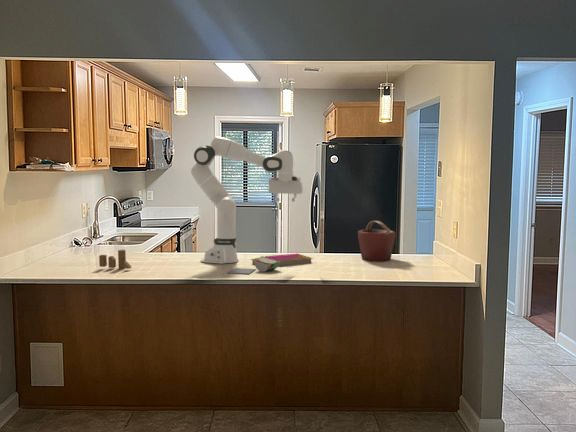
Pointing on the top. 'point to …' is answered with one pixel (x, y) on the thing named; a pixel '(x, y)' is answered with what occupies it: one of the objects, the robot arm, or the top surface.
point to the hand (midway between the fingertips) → (285, 201)
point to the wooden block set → (112, 260)
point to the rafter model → (288, 259)
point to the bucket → (376, 243)
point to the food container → (266, 264)
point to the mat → (241, 271)
